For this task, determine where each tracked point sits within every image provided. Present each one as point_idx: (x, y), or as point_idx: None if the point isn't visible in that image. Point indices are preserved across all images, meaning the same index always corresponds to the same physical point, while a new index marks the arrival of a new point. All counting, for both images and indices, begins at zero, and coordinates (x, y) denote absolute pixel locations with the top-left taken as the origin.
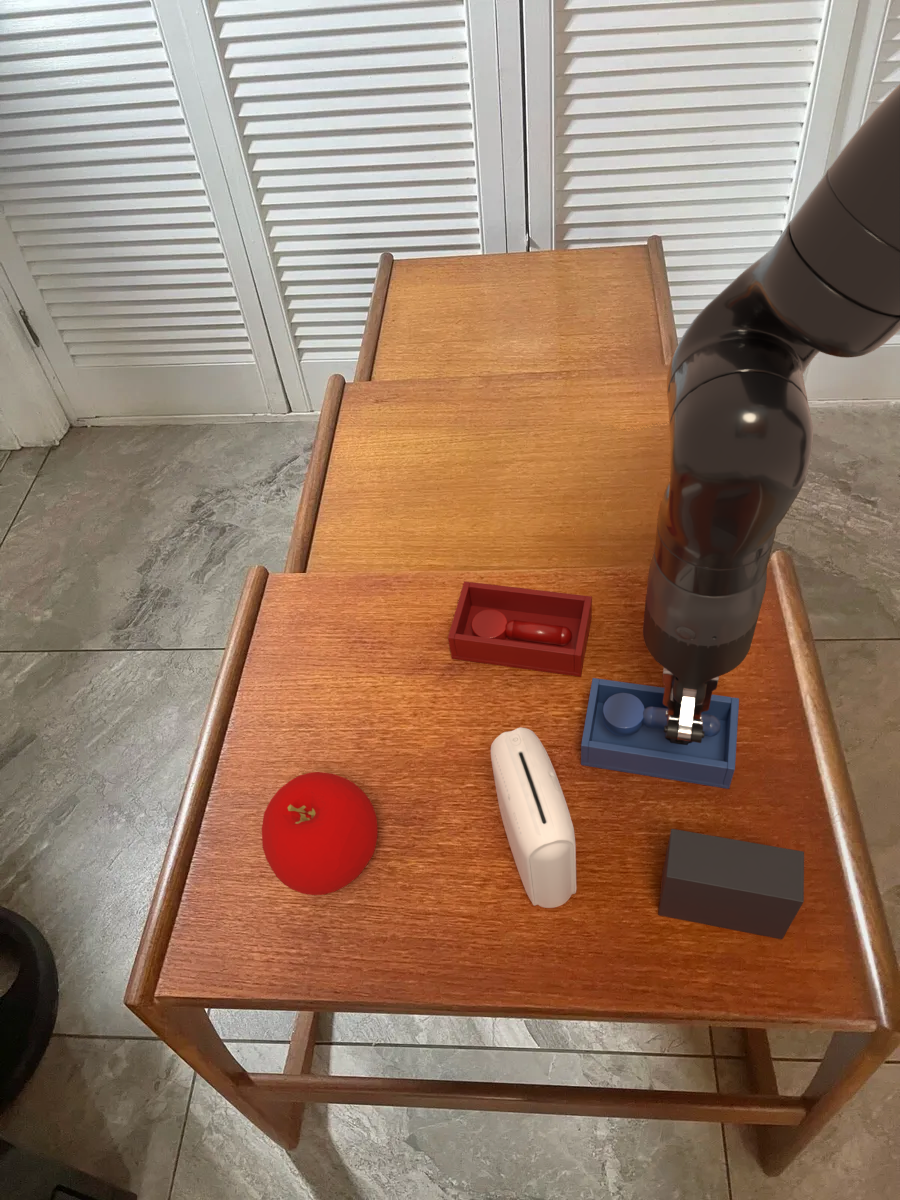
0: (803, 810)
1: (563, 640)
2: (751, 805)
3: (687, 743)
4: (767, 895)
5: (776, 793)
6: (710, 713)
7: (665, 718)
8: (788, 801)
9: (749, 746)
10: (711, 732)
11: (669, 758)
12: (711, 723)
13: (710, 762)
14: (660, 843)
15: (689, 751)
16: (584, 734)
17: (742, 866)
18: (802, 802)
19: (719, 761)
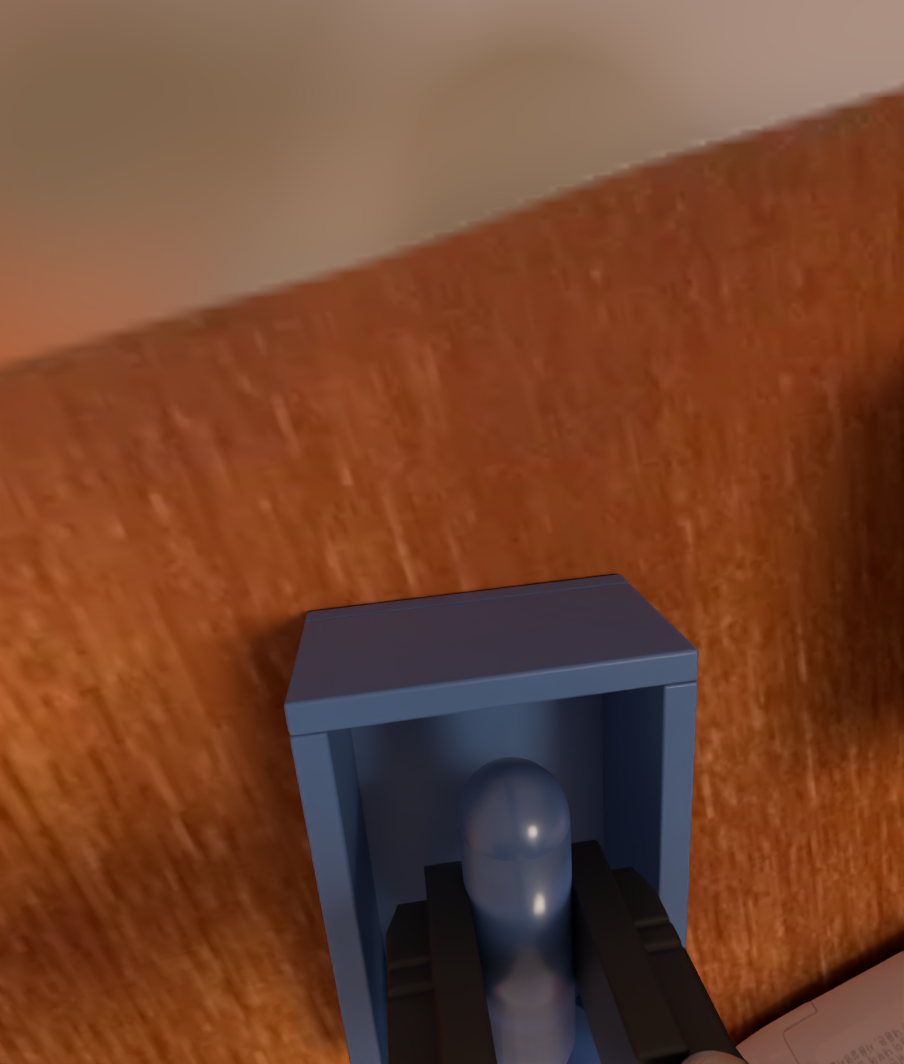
0: (659, 282)
1: None
2: (670, 485)
3: (656, 896)
4: None
5: (603, 400)
6: (346, 731)
7: (558, 1020)
8: (629, 348)
9: (415, 531)
10: (567, 815)
11: (684, 891)
12: (544, 851)
13: (677, 749)
14: (840, 732)
15: (513, 740)
16: None
17: None
18: (624, 290)
19: (670, 719)
